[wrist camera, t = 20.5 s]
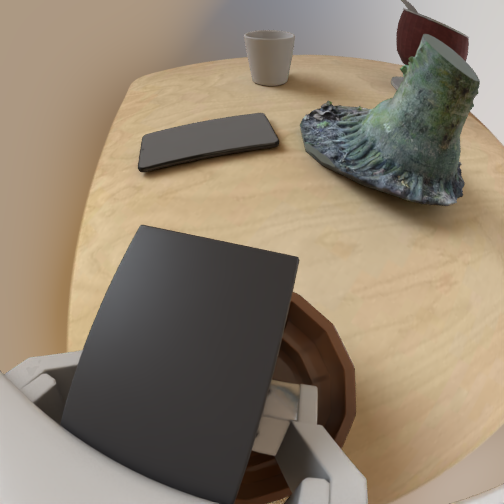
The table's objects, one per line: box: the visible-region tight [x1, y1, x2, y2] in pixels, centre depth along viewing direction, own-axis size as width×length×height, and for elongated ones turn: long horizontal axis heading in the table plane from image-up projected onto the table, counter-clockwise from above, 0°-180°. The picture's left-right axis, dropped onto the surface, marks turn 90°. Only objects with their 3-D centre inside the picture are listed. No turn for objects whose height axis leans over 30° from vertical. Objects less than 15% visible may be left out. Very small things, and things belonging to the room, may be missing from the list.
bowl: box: [234, 292, 356, 504], centre depth 13 cm, size 11×11×6 cm
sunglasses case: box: [60, 225, 299, 504], centre depth 8 cm, size 4×6×9 cm, turn 165°
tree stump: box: [300, 34, 480, 206], centre depth 21 cm, size 18×20×18 cm
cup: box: [244, 30, 295, 86], centre depth 34 cm, size 8×10×8 cm
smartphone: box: [138, 113, 279, 172], centre depth 28 cm, size 7×1×15 cm
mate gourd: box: [391, 0, 469, 90], centre depth 30 cm, size 16×14×20 cm
